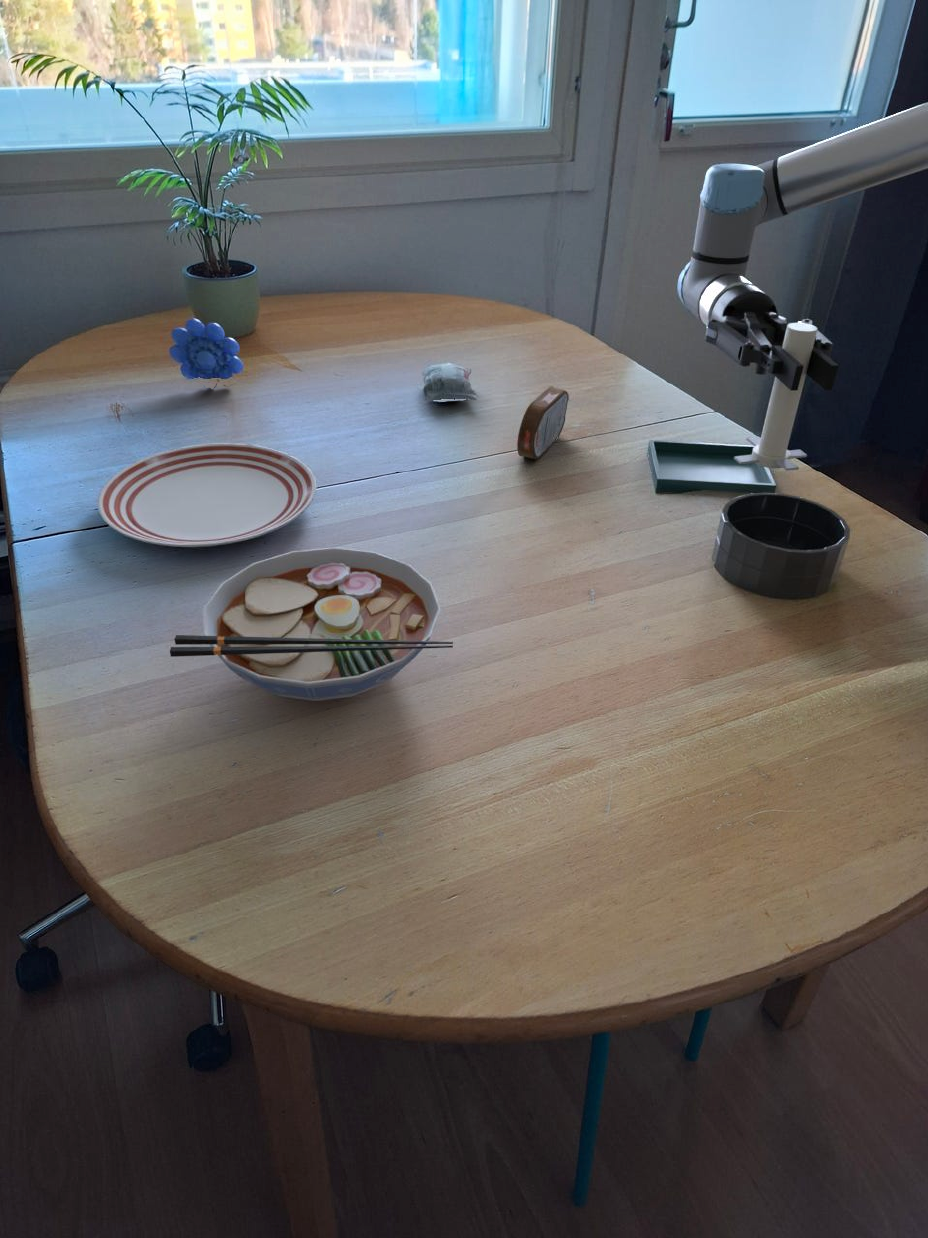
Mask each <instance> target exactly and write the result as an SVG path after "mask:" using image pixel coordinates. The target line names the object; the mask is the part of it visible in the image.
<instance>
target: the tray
mask: <svg viewBox="0 0 928 1238" xmlns="http://www.w3.org/2000/svg"><path fill="white" fill-rule="evenodd" d="M754 447H755V446H754V445H752V444H751V445H750V444H732V443H731V444H730V443H714V442H695V441H694V442H693V441H676V440H658V439H649V440H648V444H647V451H648V453H647V456H648V455H649V458H648V463H649V462H650V463H649V467H650V471H651V472H652V473H651V477H652V482H653V487H654V492H655V493H661V494H676V495H677V494H688V493H697V492H698V493H699V492H705V491H706V492H707V491H709V492H723V493H724V492H726V493H741V494H753V493H776V491H777V486H778V484H777V483H776V481H775V478H774V476H773V475H772V472H771V470H770V468H767V467H763V466H760V465H758V464H756V463H747V464H740V463H739V462H737V461H736V460H735V459H734V456H744V455H752V451H753V448H754Z"/></svg>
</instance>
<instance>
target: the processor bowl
mask: <svg viewBox="0 0 928 1238" xmlns="http://www.w3.org/2000/svg"><path fill="white" fill-rule="evenodd" d="M718 523H719V524H718V528H717V532H716V537H715V542H714V546H713V551H712V556H711V559H712V564H713V566H714V568H715V570H716V571H717V573H718V574H719V575H720V576H721V577H722V578H724V579H725V580H726V581H728V582H729V583H730V584H732V585H734V586H736V587H737V588H739V589H741V590H744V591H746V592H748V593H752V594H755V595H757V596H761V597H765V598H770V599H776V600H785V601H797V600H798V601H799V600H801V601H802V600H807V599H808V600H809V599H813V598H817V597H820V596H822V595H824V594H826V593H828V592H829V591H830V590H831V589H832V588H833V587H834V585H836V582H837V578H838V575H839V572H840V569H841V566H842V562H843V559H844V557H845V553H846V550H847V546H848V545H849V541H850V535H851V528H850V526H849V524H848V523H847V521H846V519H844V518H843V517H842V516H840V515H839V514H838V513H837V512H836V511H835V510H833V509H832V508H829V507H828V506H825V505H823V504H822V503H819V502H817V501H814V500H811V499H807V498H805V497H801V496H797V495H791V494H786V493H781V492H780V493H778V492H775V493H745V494H742V495H739V496H736V497H733V498H732V499H730V500H729V501H727V502H726V503H725V504H724V505H723V508H722V511H721V513H720V518H719V522H718Z"/></svg>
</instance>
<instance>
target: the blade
mask: <svg viewBox="0 0 928 1238" xmlns="http://www.w3.org/2000/svg"><path fill="white" fill-rule="evenodd" d="M817 330H818V327H817V326H815V325H813V324H812V325H811V324H806V323H798V322H789V324H788V325H787V329H786V333H785V337H784V342H783V346H782V348H783V349H784V350H785V351H786V352H788V353H789V354H790V355H791V356H792V357H794V358H795V359H796V360H797V361H798V362H800V363H801V364H802V365H803V366H804V367H803V371H802V375H801V379H800V383H799V387H798V391H791V390H790V389H789V388H788V387H786V386H785V385H784V384H783V383H782V382H781V381H780V380H779V379H778V378H777V377H776V376H774V379H773V383H772V384H773V385H772V389H771V393H770V397H769V401H768V406H767V410H766V414H765V418H764V423H763V427H762V431H761V435H760V436H757V435H755V436H747V437H746V438H745V440H746V441H747V442H748V443H750V444H751V445H752V446H755V447H754V448H753V451H752V455H744V456H734V459H735V460H736V461H737V462H739V463H740V464H747V463H756V464H758V465H760V466H763V467H767V468H769V469H783V470H785V471H786V472H787V471H797V470H799V468H800V467H799V466H798V465H796V464H795V463H794V462H793V461H792V460H791V459H801V458H807V456H808V454H807V453H805V452H804V451H803V450H801V449H792V450H789V449H788V448H789V447H788V446H789V443H790V439H791V435H792V432H793V427H794V423H795V419H796V416H797V411H798V408H799V403H800V400H801V396H802V392H803V388H804V384H805V380H806V376H807V374H806V373H807V369H808V365H809V361H810V357H811V353H812V349H813V345H814V341H815V337H816V334H817ZM818 331H819V330H818Z"/></svg>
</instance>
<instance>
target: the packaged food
mask: <svg viewBox="0 0 928 1238" xmlns="http://www.w3.org/2000/svg"><path fill="white" fill-rule="evenodd" d="M471 374H472V368H465V367H463V366H461V365H457V364H453V363H452V362H445V363H439V364H431V365H427V366H426V367H424V369H423V371H422V378H423V383H424V384H423V385H424V386H423V393H424V397H425V399H426V401H427V402H428V403H433V400H441V399H454V400H455V399H466V400H467V401H469V400H468V399H470V400H473V401H477V400H478V395H477V392H476V391H475V389H473V388H472V384H471V382H470V378H469V377H470V375H471Z"/></svg>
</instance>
